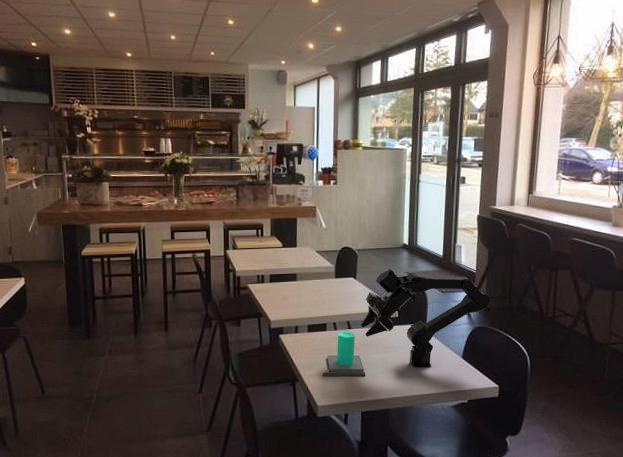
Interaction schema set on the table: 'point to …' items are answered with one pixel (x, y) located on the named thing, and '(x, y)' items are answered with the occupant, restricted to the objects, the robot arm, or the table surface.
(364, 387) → the table surface
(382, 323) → the robot arm
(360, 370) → the slate coaster
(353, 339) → the candle
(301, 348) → the table surface
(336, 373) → the dark grey bar
